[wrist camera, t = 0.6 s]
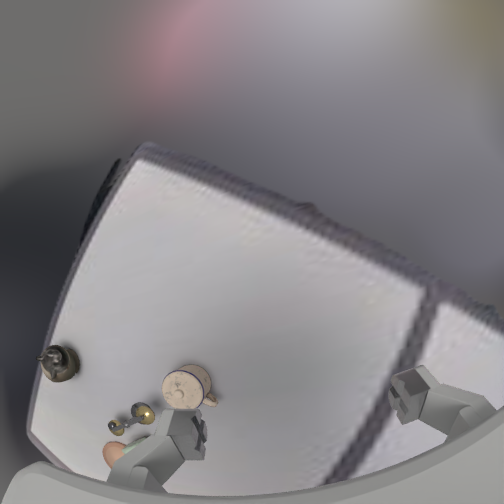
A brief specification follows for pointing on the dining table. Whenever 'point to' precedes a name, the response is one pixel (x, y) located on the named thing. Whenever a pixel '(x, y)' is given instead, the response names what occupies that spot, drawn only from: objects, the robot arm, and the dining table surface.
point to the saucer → (113, 452)
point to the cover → (132, 445)
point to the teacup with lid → (188, 388)
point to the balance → (140, 415)
